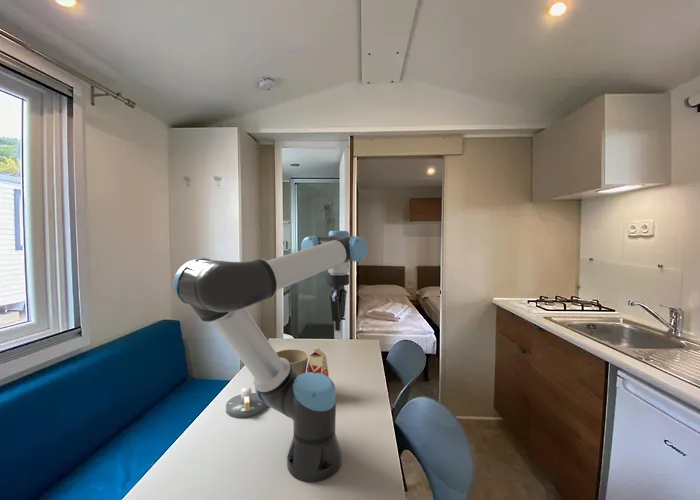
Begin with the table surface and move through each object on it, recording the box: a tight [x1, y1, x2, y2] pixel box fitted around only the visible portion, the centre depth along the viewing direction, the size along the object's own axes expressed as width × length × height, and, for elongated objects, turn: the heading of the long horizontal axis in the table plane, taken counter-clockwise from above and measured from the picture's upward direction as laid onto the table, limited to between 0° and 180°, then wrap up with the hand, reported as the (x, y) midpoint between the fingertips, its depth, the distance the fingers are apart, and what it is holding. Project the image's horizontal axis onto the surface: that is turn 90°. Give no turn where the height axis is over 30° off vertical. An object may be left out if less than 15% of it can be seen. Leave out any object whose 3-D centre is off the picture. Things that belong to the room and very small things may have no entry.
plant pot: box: [275, 348, 309, 374], centre depth 129 cm, size 15×15×16 cm
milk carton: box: [306, 346, 330, 378], centre depth 128 cm, size 9×9×20 cm
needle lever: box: [240, 386, 252, 411], centre depth 117 cm, size 9×4×4 cm, turn 20°
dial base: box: [225, 392, 267, 419], centre depth 120 cm, size 14×14×2 cm
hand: (338, 338), depth 118 cm, fingers closed
